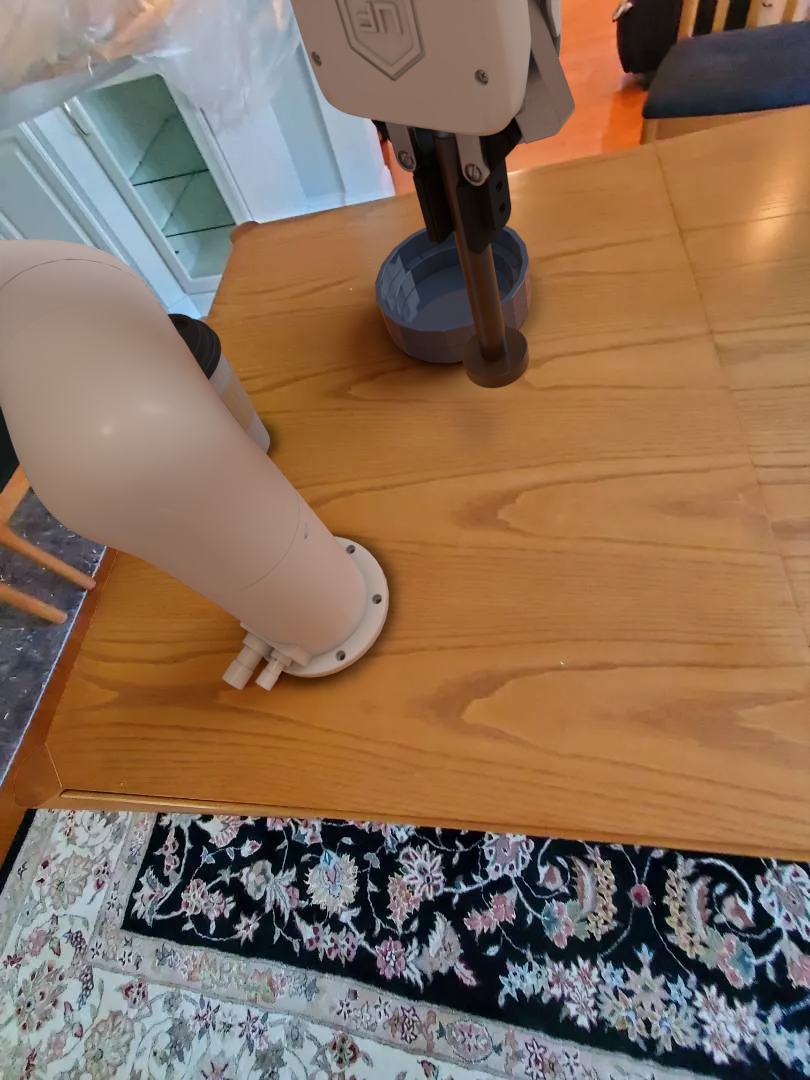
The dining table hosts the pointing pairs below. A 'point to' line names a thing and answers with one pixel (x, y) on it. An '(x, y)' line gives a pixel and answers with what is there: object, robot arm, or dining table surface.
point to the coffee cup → (221, 375)
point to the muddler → (480, 291)
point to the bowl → (446, 293)
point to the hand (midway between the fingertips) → (469, 228)
